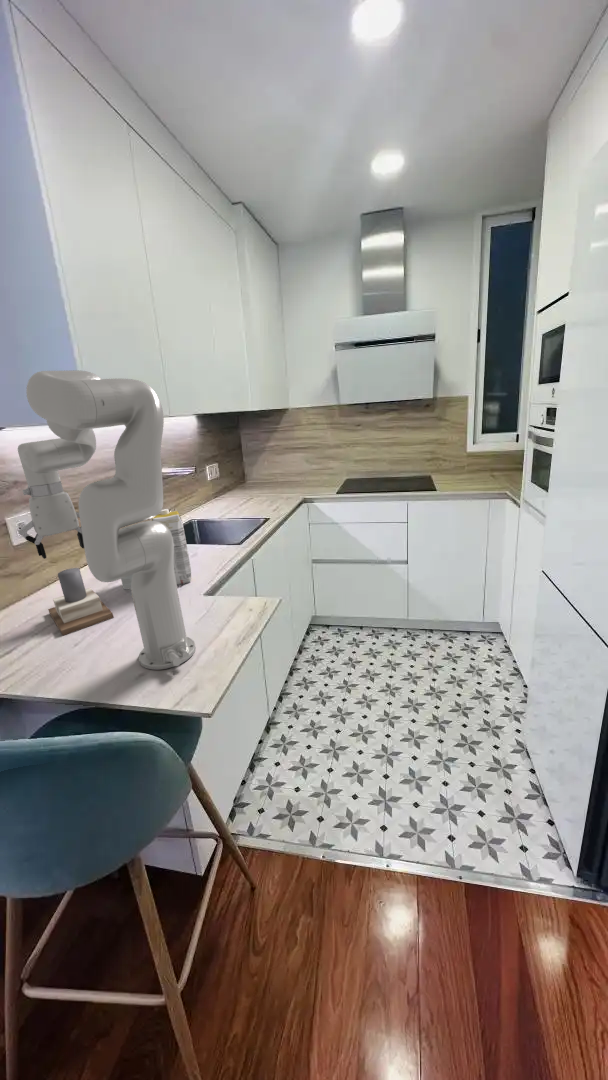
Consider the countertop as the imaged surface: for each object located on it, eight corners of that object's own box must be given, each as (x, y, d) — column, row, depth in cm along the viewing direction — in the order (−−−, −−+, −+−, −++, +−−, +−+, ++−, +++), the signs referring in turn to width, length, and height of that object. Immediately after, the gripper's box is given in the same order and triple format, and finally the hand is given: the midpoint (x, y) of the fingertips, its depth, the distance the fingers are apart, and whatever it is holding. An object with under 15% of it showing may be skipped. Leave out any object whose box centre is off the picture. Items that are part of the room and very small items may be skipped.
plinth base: (113, 617, 122) (109, 599, 121) (62, 635, 115) (57, 616, 113) (96, 598, 136) (91, 582, 134) (49, 613, 128) (44, 596, 127)
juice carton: (191, 574, 148) (178, 505, 141) (193, 582, 141) (181, 510, 134) (162, 580, 146) (148, 510, 138) (164, 589, 138) (149, 515, 131)
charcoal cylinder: (88, 597, 123) (81, 571, 120) (67, 604, 120) (59, 577, 117) (84, 592, 127) (77, 566, 125) (63, 598, 124) (56, 572, 122)
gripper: (9, 498, 106) (30, 564, 111) (85, 485, 116) (101, 546, 121) (6, 495, 112) (25, 558, 117) (78, 482, 122) (94, 541, 127)
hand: (64, 552), depth 119 cm, fingers open, 9 cm apart
